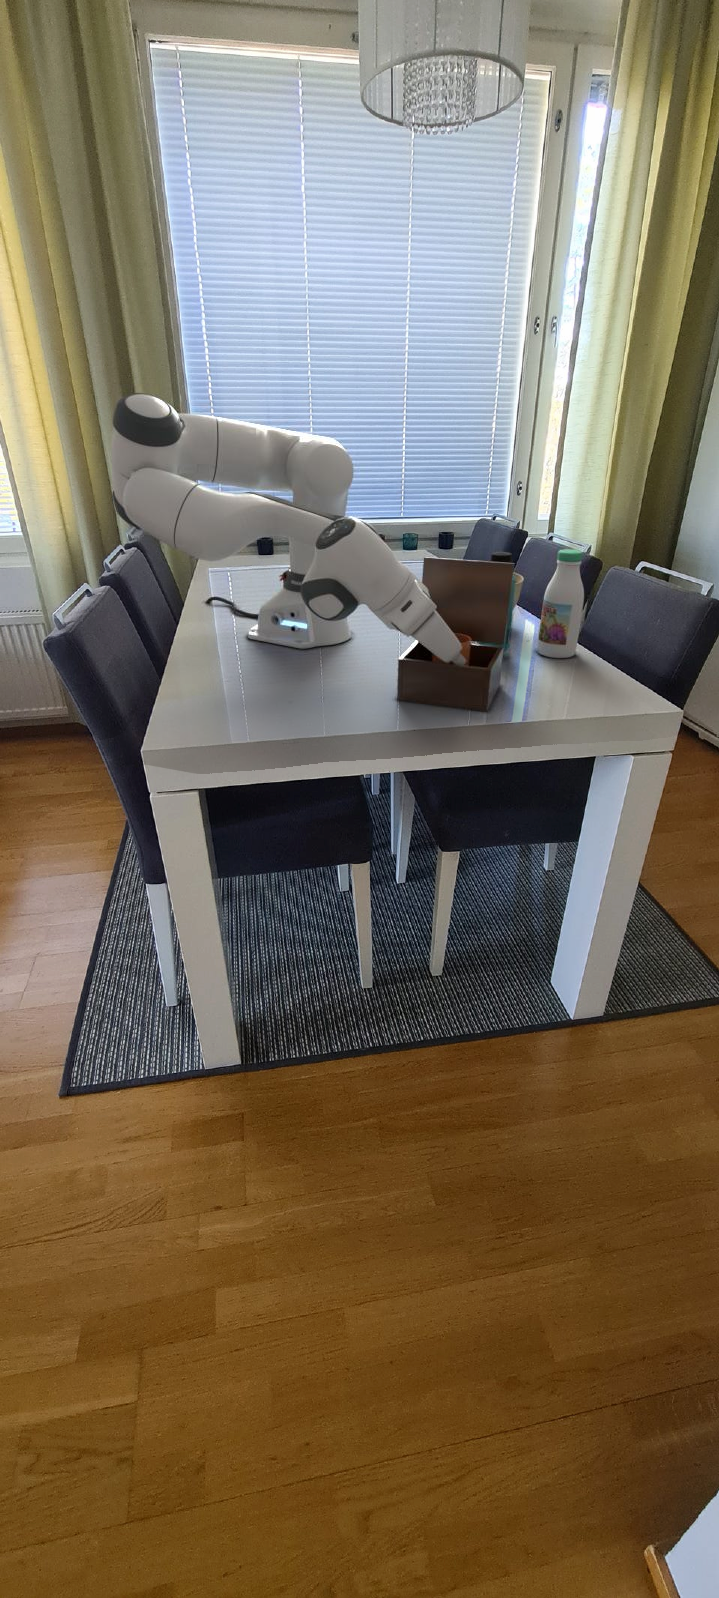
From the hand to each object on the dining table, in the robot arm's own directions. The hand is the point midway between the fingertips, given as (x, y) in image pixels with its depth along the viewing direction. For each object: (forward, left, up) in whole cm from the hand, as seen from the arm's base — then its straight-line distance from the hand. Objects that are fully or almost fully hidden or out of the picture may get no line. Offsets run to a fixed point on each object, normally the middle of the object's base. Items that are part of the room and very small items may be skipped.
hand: (454, 656), depth 119 cm
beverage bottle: (+3, +23, -7) cm, 24 cm away
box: (0, 0, -7) cm, 7 cm away
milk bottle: (+15, +29, -7) cm, 34 cm away
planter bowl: (-3, +44, -7) cm, 45 cm away
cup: (-1, 0, -4) cm, 4 cm away
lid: (0, +7, +8) cm, 10 cm away
